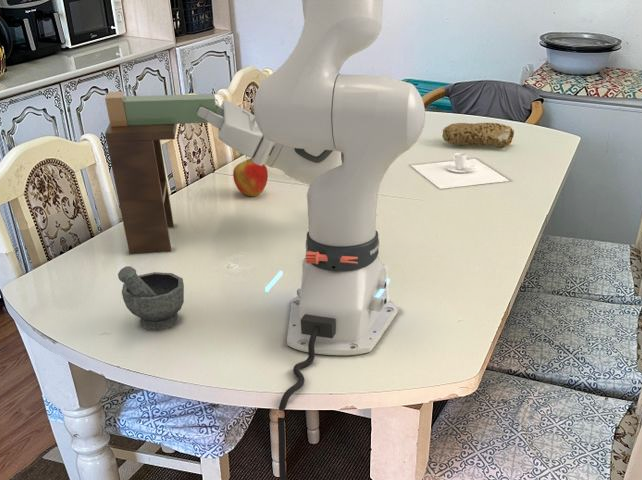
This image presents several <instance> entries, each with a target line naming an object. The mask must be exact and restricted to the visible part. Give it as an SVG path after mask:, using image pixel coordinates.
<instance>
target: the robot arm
mask: <svg viewBox="0 0 642 480" xmlns="http://www.w3.org/2000/svg"><path fill="white" fill-rule="evenodd" d="M301 1H302V4H301V5H302V14H303V20H304V21H303V26H302V30H301V33H300V37H299V38H298V40H297V43H296V45H295V46H294V49H293V50H292V52H291V53H290V55H289V56H288V57H287V59H286V60H285V61H284V62H283V63H282V64H281V66H279V67H278V68H277V69H276V70H275V71H274V72H272V73H271V74H269V75H268V76H266V77H265V78H264V79H263V80H262V82H261V83H260V84H259V86H258V88H257V90H256V93H255V95H254V99H253V113H252V112H250V111H248V110H247V109H245V108H243V107H241V106H239V105H238V104H235V103H234V102H232V101H230V100H228V99H224V100H222V103H221V104H218V103H216V111H217V114H215V113H213V112H212V111H210V110H209V109H208V108H206V107H204V106H199V109H198V111H197V115H198V116H199V117H201V118H203V119H205V120H206V121H208V122H209V123H208V124H210V125H212V126H213V127H215V128H217V129H218V139H219V140H220V142H222V143H223V144H224V145H225V146H228V147H229V148H231V149H233V150H234V151H236V152H238V153H239V154H242V155H243V156H245V157H246V156H247V158H249V159H251V160H252V162H253V163H255V164H257V165H259V166H262V165H265V166H266V167H269V168H271V169H276V170H280V171H281V172H282V173H284V174H285V175H286V176H287V177H289V178H292V179H294V180H296V181H298V182H301V183H302V184H305V185H308V188H307V192H306V205H307V222H308V223H307V225H308V231H307V232H306V240H305V258H303V259H302V260H301V270H302V273H301V282H300V288H298V289H297V290H296V295H297V296H294V297H293V298H291V303H290V312H289V317H288V319H289V320H288V325H287V334H286V345H287V346H288V347H290V348H292V349H295V350H298V351H301V352H305V353H308V355H307V356H308V357H307V358H306V359H305V360H303V361H301V362H298V363H296V364H295V365H294V366H293V369H292V371H293V374H294V376H295V377H296V378H297V382H296V383H294V384H293V385H292V386H290V387H289V388H287V389H286V390H285V392H284V393H283V395H282V397H281V399H280V402H279V406H278V410H279V411H285V410H286V408H287V405H288V402H289V399H290V397H291V396H292V395H293V394H295V392H297V391H298V390H300V389H301V388H303V386H304V383H305V381H306V380H305V376H304V374H303V373H302V372H301V370H302V369H303V368H307V367H308V366H310V365H311V364H312V363H313V362H314V360H315V356H316V354H317V355H325V356H356V355H363V354H367V353H371V351H373V349H374V348H375V347H376V346H377V344H378V342H379V340H381V338H382V337H383V335H384V333H385V332H386V330H387V329H388V328H389V326H390V325H391V323H392V322H393V320H394V319H395V318H396V317H397V314H398V313H399V308H398V305H397V304H395V303H394V302H391V301H389V284H390V278H389V276H388V266H386V264H385V263H384V262H383V261H382V260H381V259H380V257H379V254H380V253H379V248H380V239H379V231H378V230H377V206H378V197H379V190H380V186H381V183H382V181H383V179H384V176H385V174H386V173H387V171H388V170H389V169H390V167H391V166H392V164H393V163H394V162H395V161H396V160H397V159H398V158H399V157H401V156H402V155H403V154H404V153H406V152H407V151H408V150H410V149H411V148H412V147H414V146H415V144H416V143H417V142H418V140H419V139H420V137H421V135H422V133H423V130H424V128H425V124H426V108H425V103H424V100H423V98H422V95H421V94H420V92H419V90H418V89H417V87H416V86H415V85H414V84H413V83H410V82H408V81H404V80H400V79H396V78H392V77H388V76H384V75H365V74H344V73H343V74H342V73H340V70H341V68H342V66H343V65H344V63H345V62H346V61H347V60H348V59H349V58H351V57H352V56H353V55H355V54H357V53H360V52H362V51H364V50H366V49H367V48H369V47H370V46H371V45H372V44H373V43H374V42H375V41H376V40H377V39H378V37H379V35H380V33H381V30H382V23H383V9H384V7H383V6H384V0H301ZM341 152H342V153H343V154H344V163H343V164H342V160H341ZM282 276H283V270H279V272H278V273H277V274H276V275H275V276H274V277H273V279H272V280H271V281H270V282H269V283H268V284H267V285H266V286H265V287H264V289H265V292H266V293H268V292H269V291H270V289H272V287H273V286H274V285H275V284H276V283H277V281H279V279H280V278H281V277H282ZM285 425H286V424H285V417H279V416H278V417H277V433H278V435H277V437H278V439H277V440H278V475H279V480H287V471H286V466H287V465H286V427H285Z"/></svg>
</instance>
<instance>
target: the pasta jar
mask: <svg viewBox="0 0 642 480" xmlns="http://www.w3.org/2000/svg"><path fill="white" fill-rule="evenodd" d="M104 101H105V105H106V110H107V115H108V116H107V117H108V121H109V124H110V126H111V127H118V126H127V125H128V126H131V125H159V124H177V125H181V124H183V125H185V124H187V125H188V124H210V123H209V122H208V121H206V120H205V119H203V118H201V117H199V116H198V115H197V111H198V109H199V106H204V107H206V108H208V109H209V110H210V111H212V112H213V113H215V114H217V111H216V104H217V102H216V95H215V93H194V94H163V95H162V94H161V95H160V94H159V95H126V91H108V92H107V94H106V96H105V98H104Z"/></svg>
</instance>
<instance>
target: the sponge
mask: <svg viewBox="0 0 642 480" xmlns="http://www.w3.org/2000/svg"><path fill="white" fill-rule="evenodd" d="M514 136H515V130H514V129H513V127H511V126H509V125H506V124H502V123H498V122H476V123H469V122H468V123H466V122H455V123H450V124H449V125H447V126H445V127H444V128H443V129H442V136H441V137H442V140H444V141H445V142H447V143H448V144H450V145H455V146H461V147H475V146H476V147H477V146H490V147H495V148H499V149H505V148H506V147H508V146H510V145H511V143H512V141H513V139H514Z"/></svg>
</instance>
